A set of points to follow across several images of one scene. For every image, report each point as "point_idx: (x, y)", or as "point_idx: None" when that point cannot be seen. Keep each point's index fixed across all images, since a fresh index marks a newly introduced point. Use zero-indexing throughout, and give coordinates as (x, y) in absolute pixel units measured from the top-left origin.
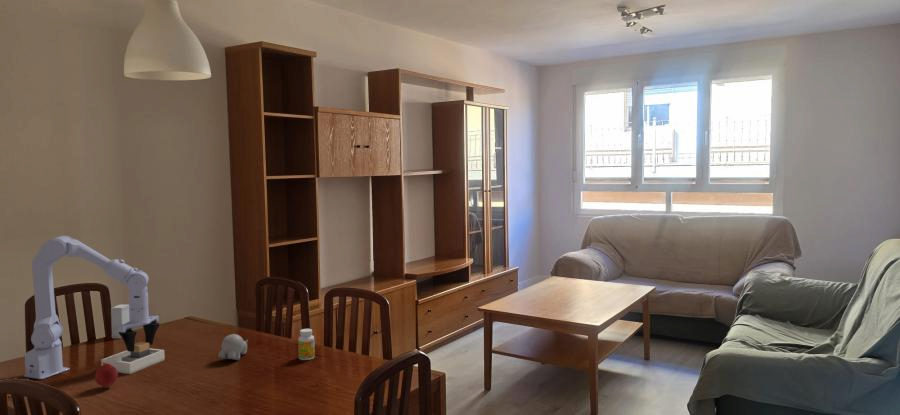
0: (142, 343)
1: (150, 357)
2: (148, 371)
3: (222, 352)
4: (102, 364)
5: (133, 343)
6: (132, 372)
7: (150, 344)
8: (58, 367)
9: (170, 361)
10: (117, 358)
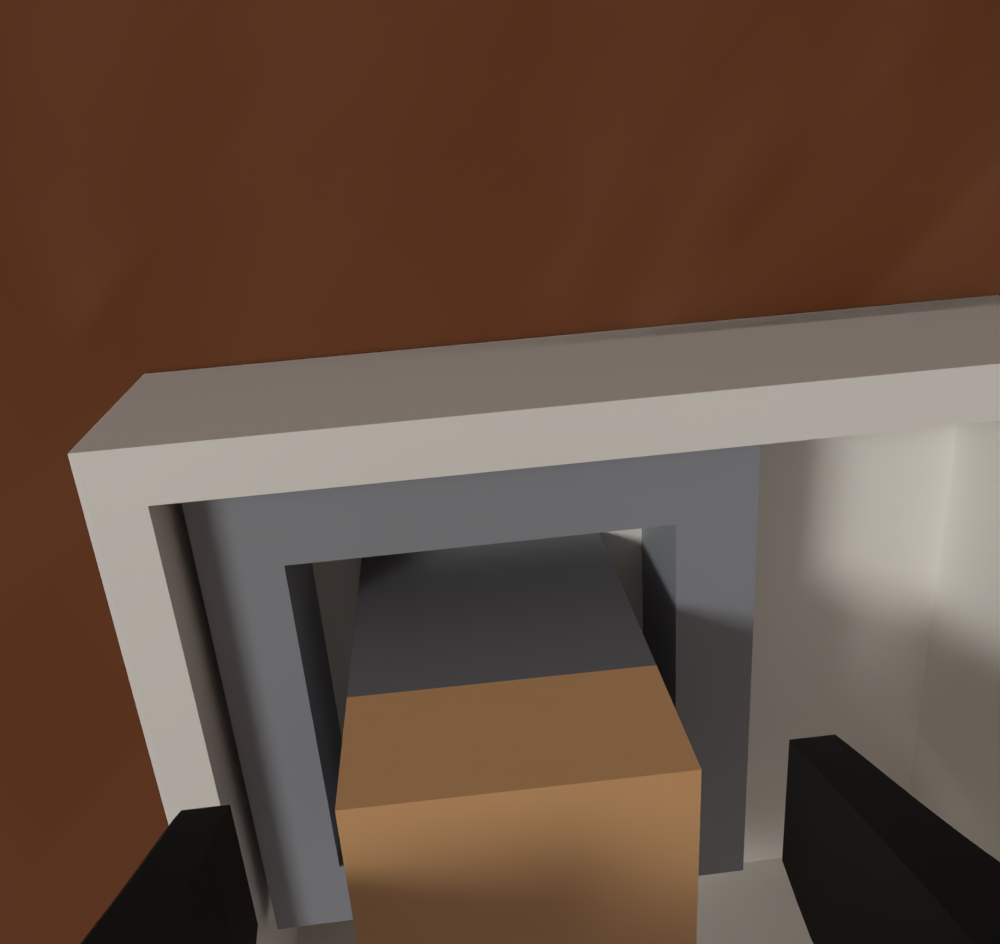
0: (463, 908)
1: (536, 389)
2: (786, 83)
3: None
4: None
5: (959, 872)
6: (958, 300)
7: (229, 828)
8: None
9: (128, 183)
10: (711, 935)
